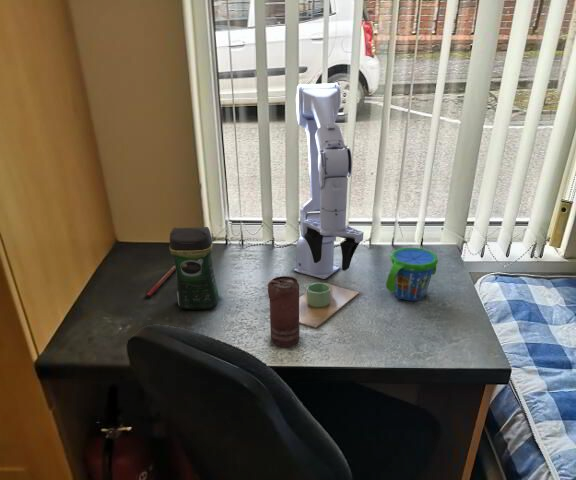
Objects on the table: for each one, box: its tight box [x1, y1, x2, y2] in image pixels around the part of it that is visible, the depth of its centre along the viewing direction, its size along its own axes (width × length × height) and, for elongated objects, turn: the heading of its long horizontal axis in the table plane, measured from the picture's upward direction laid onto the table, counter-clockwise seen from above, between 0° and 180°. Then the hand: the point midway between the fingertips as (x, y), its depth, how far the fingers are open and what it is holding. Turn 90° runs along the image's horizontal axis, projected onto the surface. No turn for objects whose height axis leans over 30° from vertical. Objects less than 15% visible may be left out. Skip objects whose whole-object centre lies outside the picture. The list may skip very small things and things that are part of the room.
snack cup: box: [385, 247, 439, 302], centre depth 136 cm, size 16×10×10 cm
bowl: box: [306, 282, 331, 308], centre depth 134 cm, size 6×6×4 cm
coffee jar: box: [169, 226, 220, 311], centre depth 131 cm, size 10×8×19 cm
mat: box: [299, 281, 360, 330], centre depth 136 cm, size 11×20×1 cm, turn 146°
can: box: [267, 275, 300, 349], centre depth 118 cm, size 6×6×14 cm
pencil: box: [145, 265, 176, 299], centre depth 147 cm, size 19×1×1 cm, turn 166°
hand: (331, 265), depth 132 cm, fingers open, 7 cm apart
